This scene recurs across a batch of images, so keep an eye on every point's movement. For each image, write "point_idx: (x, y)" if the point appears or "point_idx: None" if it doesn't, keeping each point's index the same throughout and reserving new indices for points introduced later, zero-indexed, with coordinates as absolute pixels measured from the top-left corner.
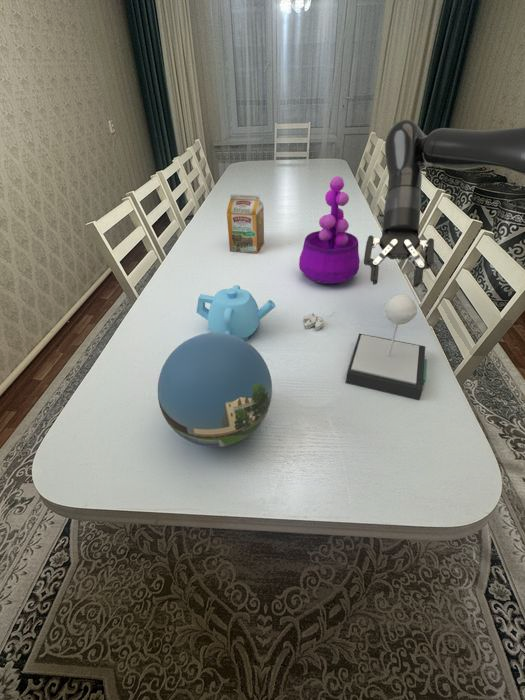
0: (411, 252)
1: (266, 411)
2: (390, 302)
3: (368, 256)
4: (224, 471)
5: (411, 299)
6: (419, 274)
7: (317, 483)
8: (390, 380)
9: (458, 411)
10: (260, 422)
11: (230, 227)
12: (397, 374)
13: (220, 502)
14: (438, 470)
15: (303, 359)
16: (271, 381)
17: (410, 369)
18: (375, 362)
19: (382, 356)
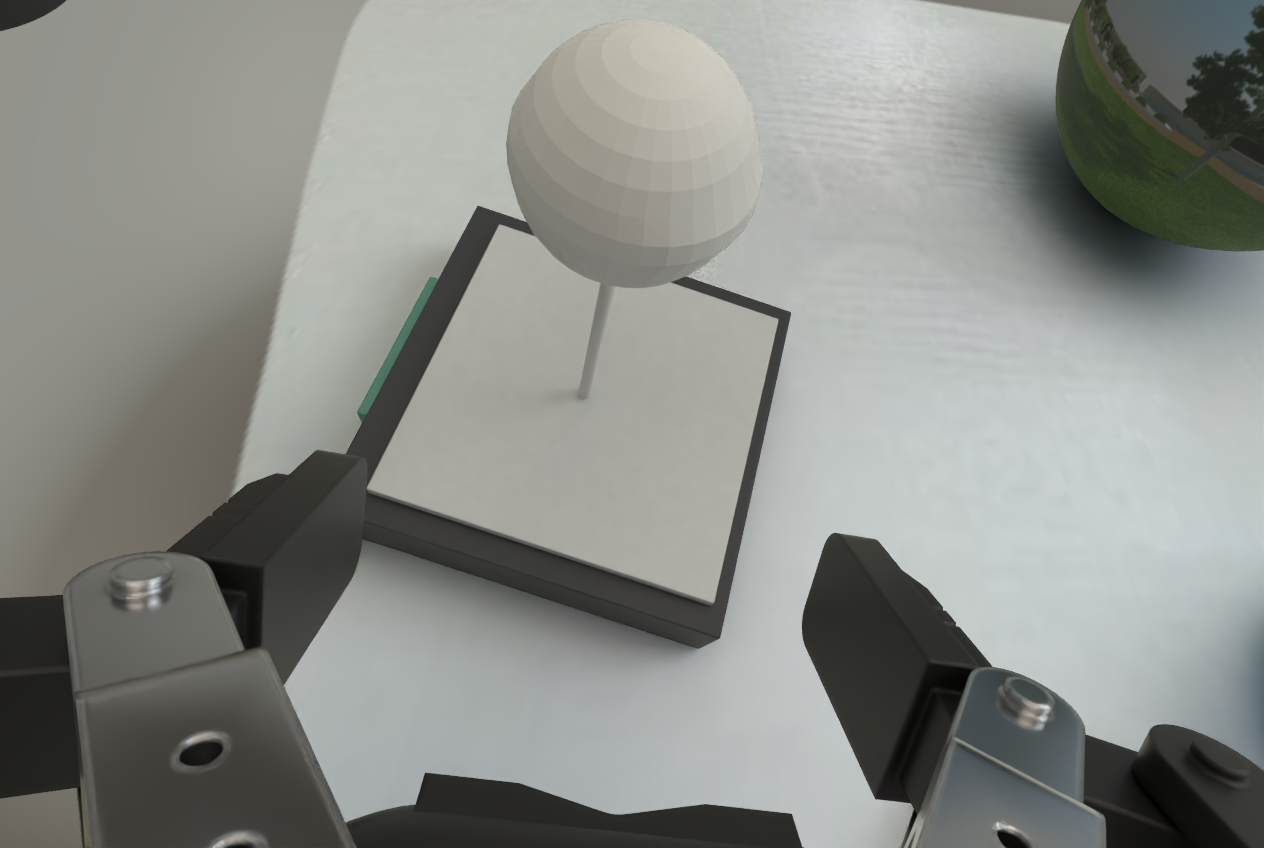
0: (285, 755)
1: (1083, 6)
2: (751, 104)
3: (1249, 804)
4: (1051, 83)
5: (582, 52)
6: (263, 504)
7: (834, 39)
8: None
9: (340, 194)
10: (1074, 15)
11: None
12: (570, 274)
13: (1027, 29)
14: (518, 32)
15: (966, 497)
16: (1143, 19)
17: (496, 301)
18: (660, 352)
19: (617, 395)
